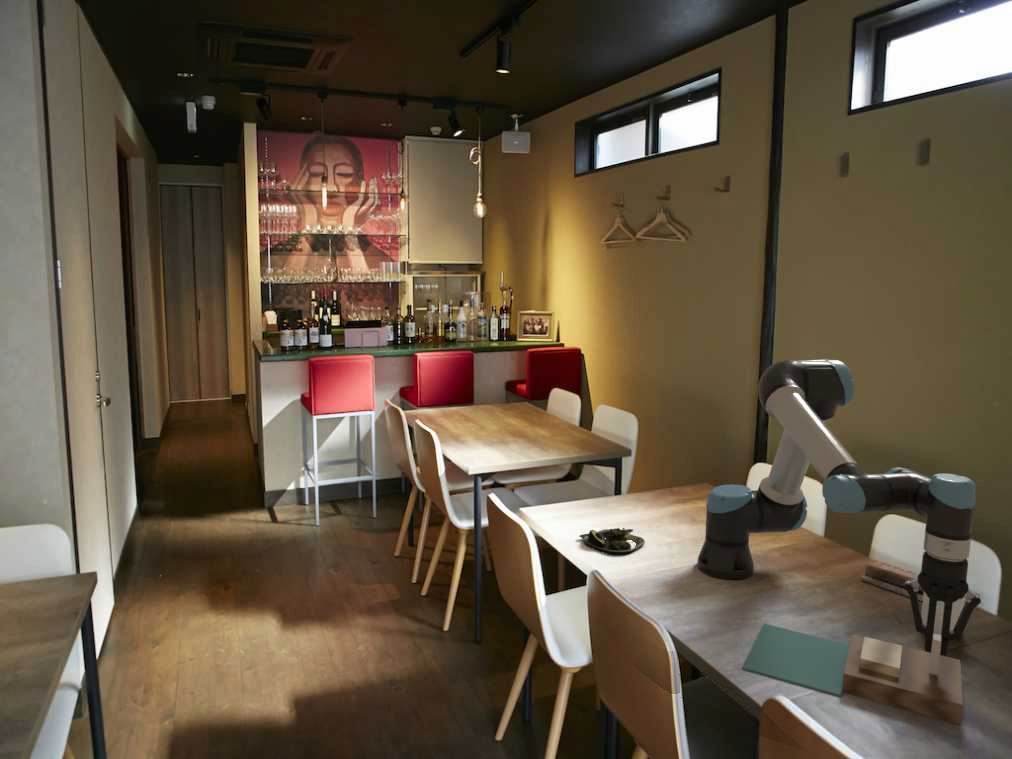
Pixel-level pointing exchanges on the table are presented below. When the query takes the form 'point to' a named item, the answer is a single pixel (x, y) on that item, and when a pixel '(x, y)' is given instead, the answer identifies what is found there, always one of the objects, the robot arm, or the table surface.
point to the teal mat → (798, 659)
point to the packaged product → (890, 577)
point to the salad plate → (612, 541)
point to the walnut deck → (908, 683)
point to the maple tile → (881, 656)
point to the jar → (955, 613)
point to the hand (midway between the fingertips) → (933, 667)
